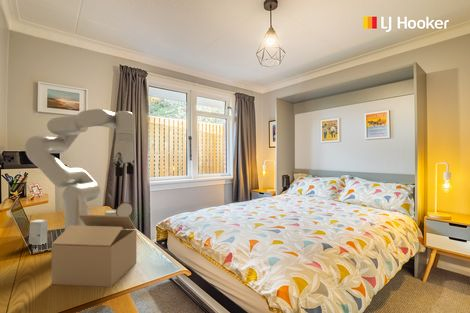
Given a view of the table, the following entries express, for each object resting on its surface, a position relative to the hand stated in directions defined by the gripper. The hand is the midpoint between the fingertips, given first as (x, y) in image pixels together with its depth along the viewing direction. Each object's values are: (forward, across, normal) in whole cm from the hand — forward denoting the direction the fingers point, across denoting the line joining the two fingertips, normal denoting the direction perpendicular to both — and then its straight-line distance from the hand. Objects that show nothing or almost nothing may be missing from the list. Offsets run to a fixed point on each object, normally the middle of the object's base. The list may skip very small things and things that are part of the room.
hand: (124, 175), depth 108 cm
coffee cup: (+36, -29, -22) cm, 51 cm away
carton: (+36, +18, -2) cm, 41 cm away
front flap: (+20, +23, -1) cm, 31 cm away
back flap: (+19, +12, -1) cm, 22 cm away
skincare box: (+36, -7, -48) cm, 61 cm away
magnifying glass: (+37, -16, -9) cm, 41 cm away
